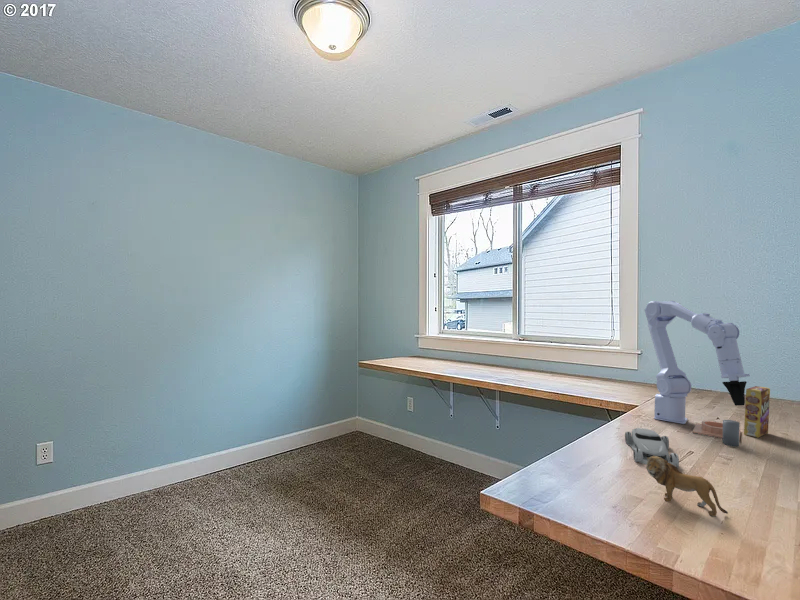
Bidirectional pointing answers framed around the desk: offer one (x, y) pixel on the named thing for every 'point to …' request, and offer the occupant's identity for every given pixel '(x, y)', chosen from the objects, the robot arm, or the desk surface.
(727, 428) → the tube
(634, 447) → the car model
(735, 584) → the desk surface
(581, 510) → the desk surface
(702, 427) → the tube holder
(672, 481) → the lion figurine
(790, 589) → the desk surface
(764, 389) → the candy box
